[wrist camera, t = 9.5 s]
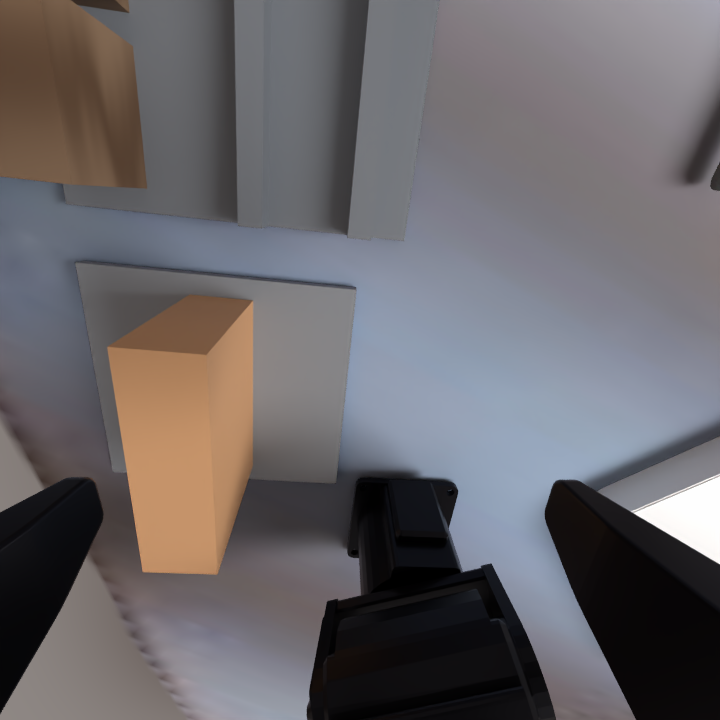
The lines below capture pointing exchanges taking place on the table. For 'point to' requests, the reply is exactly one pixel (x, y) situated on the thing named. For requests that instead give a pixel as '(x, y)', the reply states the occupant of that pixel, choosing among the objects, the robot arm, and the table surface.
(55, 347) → the table surface
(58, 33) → the offcut
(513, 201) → the table surface
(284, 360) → the mat
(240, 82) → the rack
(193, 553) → the light brown flat block
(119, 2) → the offcut
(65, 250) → the table surface
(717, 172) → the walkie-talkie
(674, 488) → the white plate
